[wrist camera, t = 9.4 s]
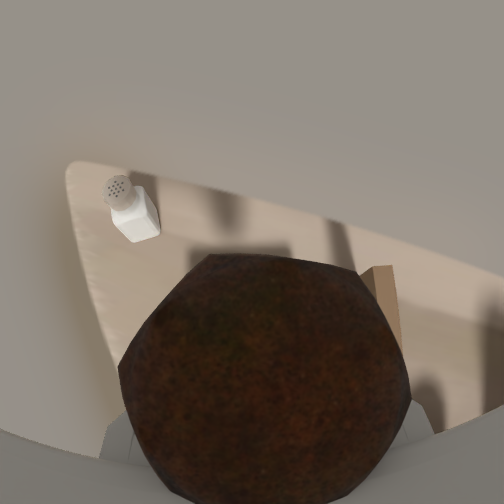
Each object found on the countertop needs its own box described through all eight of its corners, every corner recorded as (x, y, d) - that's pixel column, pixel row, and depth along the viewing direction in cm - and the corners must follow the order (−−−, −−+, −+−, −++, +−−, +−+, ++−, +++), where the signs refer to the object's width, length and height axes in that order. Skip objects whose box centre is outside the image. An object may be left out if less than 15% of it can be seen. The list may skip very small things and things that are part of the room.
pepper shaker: (162, 236, 36) (137, 200, 27) (132, 245, 35) (99, 213, 26) (157, 207, 37) (132, 166, 28) (128, 216, 37) (97, 178, 28)
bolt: (205, 340, 19) (88, 294, 5) (276, 312, 20) (328, 199, 6) (239, 420, 18) (202, 556, 4) (311, 391, 18) (440, 457, 4)
